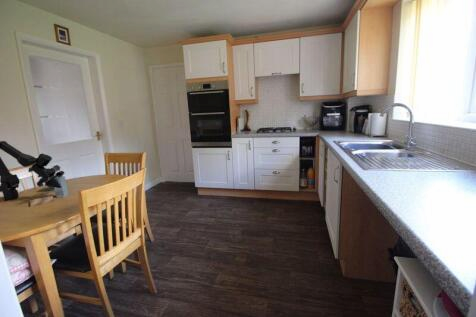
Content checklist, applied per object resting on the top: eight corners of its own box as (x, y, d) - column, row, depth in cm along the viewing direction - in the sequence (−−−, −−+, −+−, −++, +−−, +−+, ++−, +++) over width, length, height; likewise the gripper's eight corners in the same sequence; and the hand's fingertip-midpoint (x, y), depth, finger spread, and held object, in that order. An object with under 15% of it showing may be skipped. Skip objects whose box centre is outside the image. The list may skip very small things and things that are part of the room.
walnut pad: (30, 206, 137) (30, 204, 136) (30, 202, 144) (30, 200, 144) (54, 201, 144) (53, 199, 144) (52, 197, 151) (52, 195, 151)
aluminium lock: (64, 196, 151) (60, 178, 149) (55, 197, 151) (52, 178, 148) (68, 194, 155) (64, 176, 153) (60, 195, 155) (56, 176, 152)
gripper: (37, 165, 139) (59, 182, 142) (59, 159, 157) (78, 174, 160) (27, 178, 140) (49, 194, 143) (49, 170, 158) (69, 185, 161)
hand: (62, 186), depth 152 cm, fingers closed on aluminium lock, 4 cm apart
